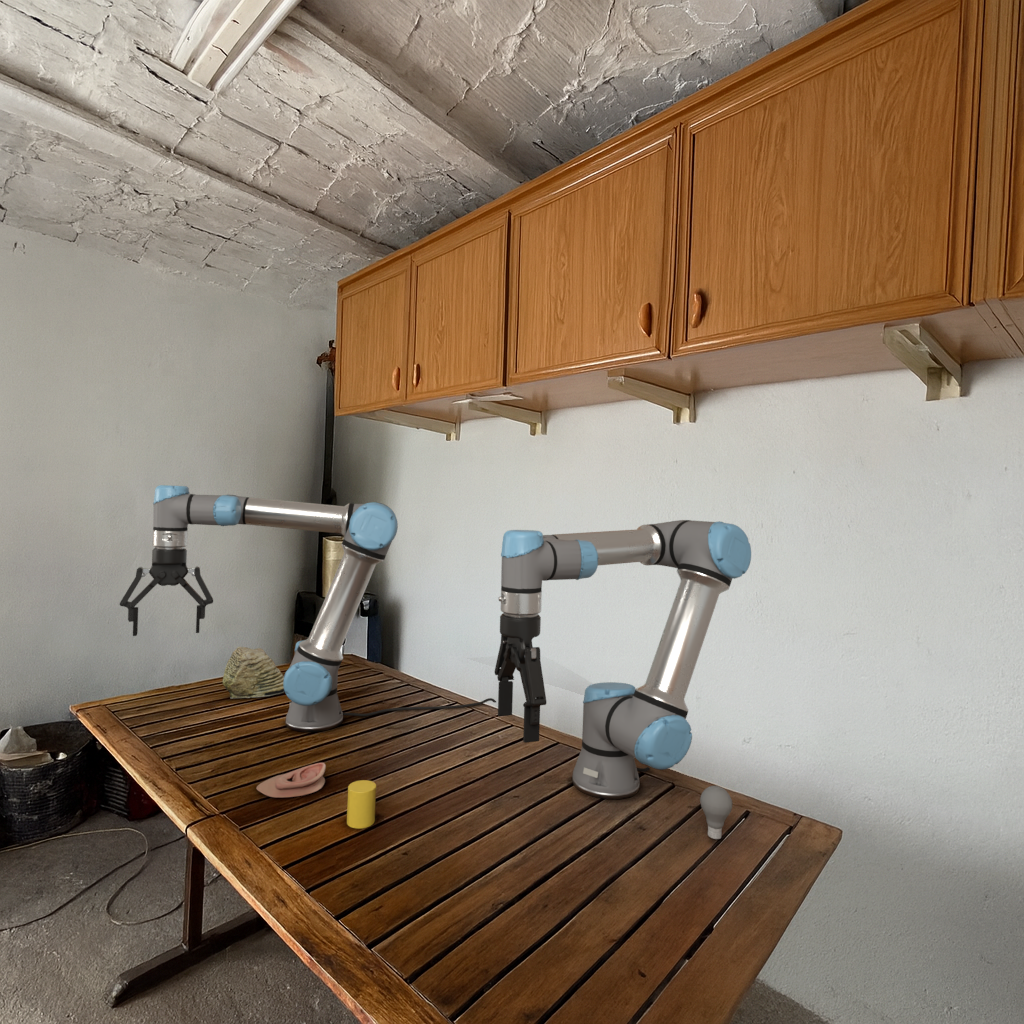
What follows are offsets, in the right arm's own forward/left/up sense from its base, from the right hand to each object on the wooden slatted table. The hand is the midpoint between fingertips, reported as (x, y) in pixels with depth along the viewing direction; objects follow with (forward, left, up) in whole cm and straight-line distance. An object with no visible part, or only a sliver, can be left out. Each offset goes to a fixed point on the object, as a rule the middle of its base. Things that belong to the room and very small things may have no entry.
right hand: (517, 727), depth 118 cm
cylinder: (+25, -17, -22) cm, 38 cm away
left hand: (+65, -69, +5) cm, 95 cm away
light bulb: (-39, +10, -22) cm, 46 cm away
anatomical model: (+37, -36, -22) cm, 56 cm away
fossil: (+44, -105, -22) cm, 116 cm away
